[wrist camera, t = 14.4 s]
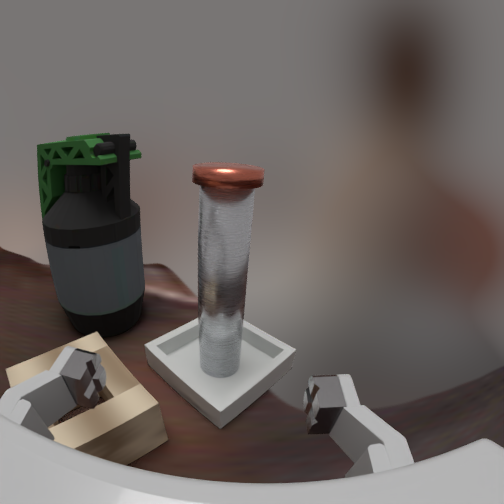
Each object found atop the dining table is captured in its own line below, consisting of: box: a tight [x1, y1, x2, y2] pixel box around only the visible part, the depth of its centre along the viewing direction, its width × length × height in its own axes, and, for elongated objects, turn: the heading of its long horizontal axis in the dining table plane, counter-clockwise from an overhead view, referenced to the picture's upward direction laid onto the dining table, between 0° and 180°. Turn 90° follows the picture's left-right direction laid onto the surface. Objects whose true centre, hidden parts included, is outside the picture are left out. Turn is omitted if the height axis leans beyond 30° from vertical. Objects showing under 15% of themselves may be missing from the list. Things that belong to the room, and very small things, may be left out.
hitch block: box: [6, 332, 168, 465], centre depth 16 cm, size 9×9×5 cm
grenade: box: [37, 133, 145, 337], centre depth 27 cm, size 11×13×20 cm
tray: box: [144, 318, 296, 429], centre depth 25 cm, size 10×10×2 cm
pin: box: [192, 162, 264, 378], centre depth 22 cm, size 5×5×17 cm
